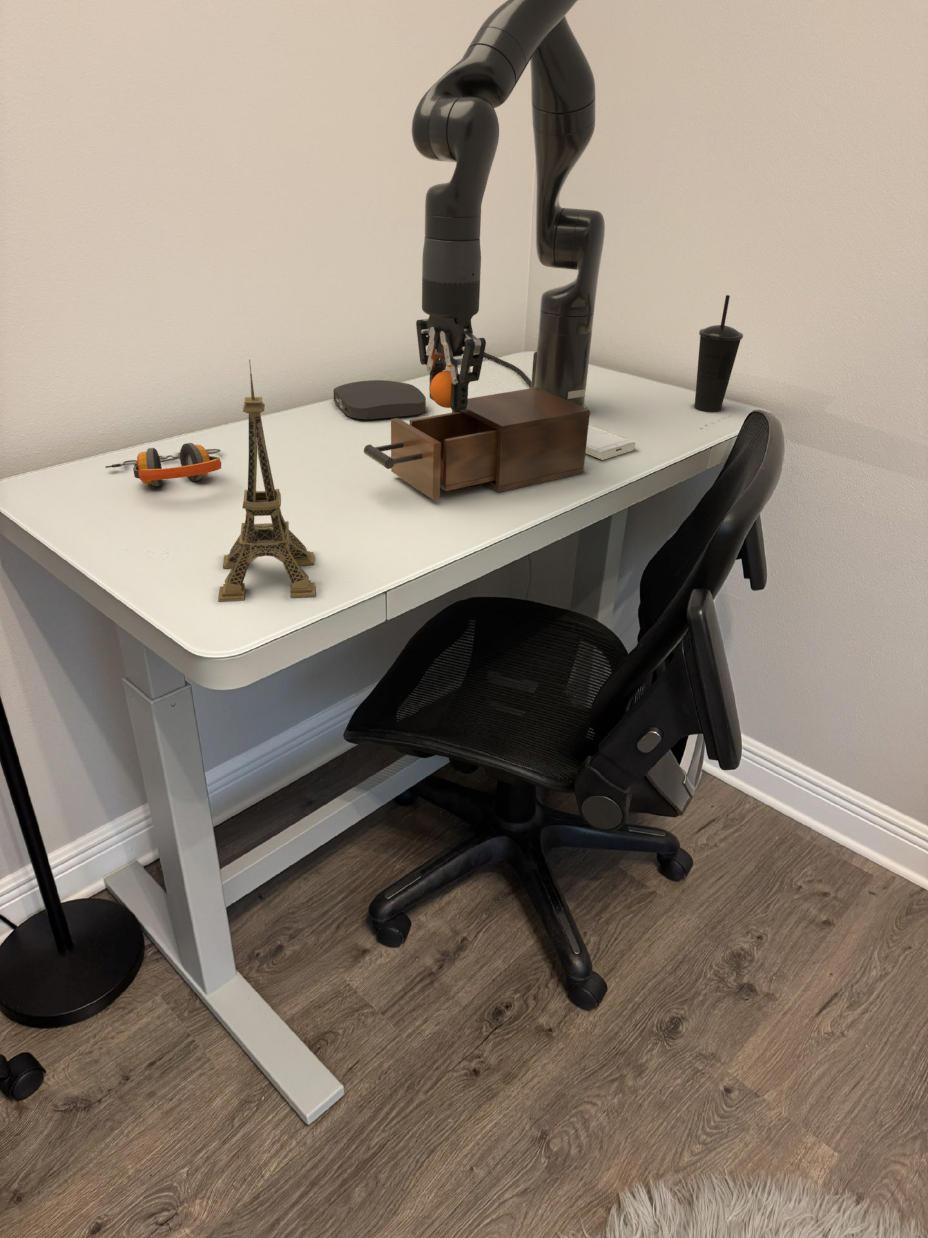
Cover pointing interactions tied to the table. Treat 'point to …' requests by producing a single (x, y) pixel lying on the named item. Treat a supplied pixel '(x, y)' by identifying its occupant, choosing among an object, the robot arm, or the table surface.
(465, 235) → the robot arm
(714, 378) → the drinking cup
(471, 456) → the drawer
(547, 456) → the cabinet
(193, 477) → the headphones
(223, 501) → the table surface
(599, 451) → the hard drive
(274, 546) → the eiffel tower
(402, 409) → the media streaming box
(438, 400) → the ball
